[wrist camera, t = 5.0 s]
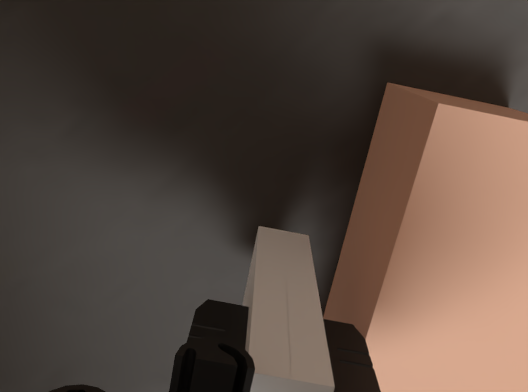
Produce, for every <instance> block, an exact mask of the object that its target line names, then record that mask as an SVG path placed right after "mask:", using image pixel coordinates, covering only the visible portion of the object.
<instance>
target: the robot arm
mask: <svg viewBox="0 0 528 392" xmlns="http://www.w3.org/2000/svg"><path fill="white" fill-rule="evenodd" d="M49 392H105V391H103V390H101V389H100V388H98V387H93V386H88V385H69V386H64V387H61V388H58V389H55V390H52V391H49ZM169 392H381V391H380V387H379V384H378V381H377V377H376V374H375V371H374V369H373V364H372V361H371V357H370V356H369V351H368V347H367V344H366V341H365V338H364V337H363V336H362V335H361V333H360V332H359V331H358V330H357V329H356V328H355V326H354V325H353V324H349V323H343V322H338V321H332V320H327V319H323V316H322V310H321V304H320V299H319V293H318V287H317V281H316V276H315V270H314V264H313V258H312V253H311V247H310V241H309V235H304V234H299V233H293V232H288V231H283V230H278V229H272V228H267V227H262V226H259V227H258V232H257V236H256V241H255V246H254V251H253V256H252V261H251V265H250V270H249V275H248V280H247V285H246V289H245V294H244V299H243V304H242V306H241V305H236V304H231V303H225V302H220V301H214V300H209V299H208V300H207V301H205V302H204V303H203V304H202V305H201V306H199V307H198V308H197V309H196V311H195V315H194V318H193V322H192V326H191V329H190V333H189V337H188V340H187V343H185V344H184V345H182V346H181V347H180V348H179V350H178V351H177V353H176V354H175V360H174V366H173V372H172V378H171V384H170V390H169Z"/></svg>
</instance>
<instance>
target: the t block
mask: <svg viewBox="0 0 528 392" xmlns="http://www.w3.org/2000/svg"><path fill="white" fill-rule="evenodd" d="M323 319H327V320H332V321H338V322H343V323H349V324H353V325H354V326H355V328H356V329H357V330H358V331H359V332H360V333H361V335H362V336H363V337H364V338H365V341H366V344H367V347H368V351H369V356H370V357H371V361H372V364H373V369H374V371H375V374H376V377H377V381H378V384H379V387H380V391H381V392H528V113H524V112H521V111H518V110H514V109H511V108H508V107H503V106H498V105H493V104H488V103H484V102H479V101H474V100H469V99H464V98H460V97H455V96H450V95H445V94H440V93H436V92H431V91H426V90H421V89H417V88H412V87H407V86H402V85H397V84H393V83H388V82H387V85H386V89H385V93H384V96H383V100H382V104H381V107H380V111H379V115H378V118H377V122H376V126H375V129H374V133H373V137H372V140H371V144H370V148H369V151H368V155H367V158H366V162H365V166H364V169H363V173H362V177H361V180H360V184H359V188H358V191H357V195H356V199H355V202H354V206H353V210H352V213H351V217H350V221H349V224H348V228H347V232H346V235H345V239H344V243H343V246H342V250H341V254H340V257H339V261H338V265H337V268H336V272H335V276H334V279H333V283H332V287H331V290H330V294H329V298H328V301H327V305H326V309H325V312H324V316H323Z"/></svg>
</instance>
